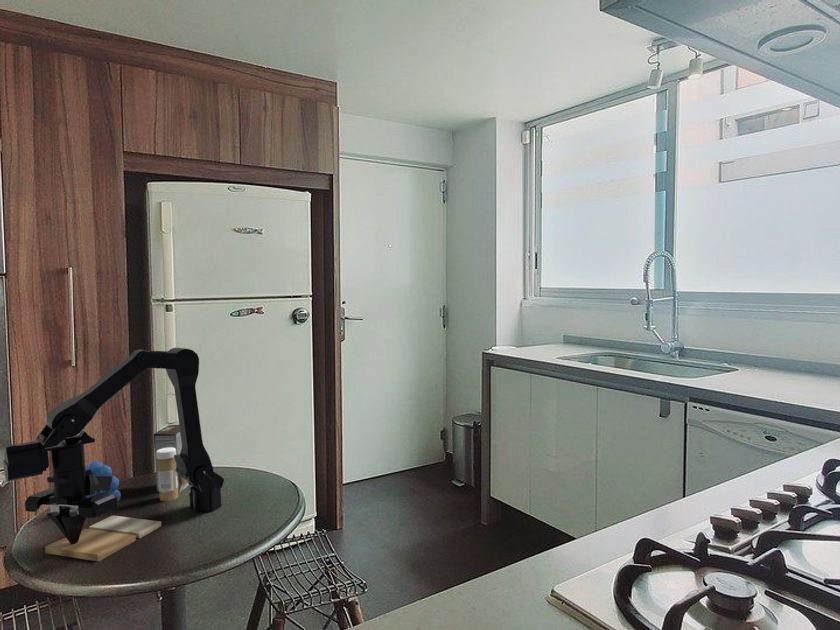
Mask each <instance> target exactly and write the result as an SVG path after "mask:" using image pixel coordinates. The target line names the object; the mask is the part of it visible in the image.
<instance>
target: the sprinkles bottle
mask: <svg viewBox="0 0 840 630" xmlns="http://www.w3.org/2000/svg"><path fill="white" fill-rule="evenodd" d="M174 455H176V449H175V448H173V447H168V448H162V449H159V450H157V451H156V458H157V463H158V483H159V493H158V494H159V501H161V502H170V501H174V500H177V498H179V493H178V480H177V472H176V471H175V470H176V462H175V459H174Z"/></svg>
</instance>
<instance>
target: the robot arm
mask: <svg viewBox="0 0 840 630" xmlns="http://www.w3.org/2000/svg"><path fill="white" fill-rule="evenodd" d="M146 369H164V370H166V375H167V376H168V378H169V380H170V382H171V385H172V387H173V388H174V394H175V401H176V402H175V404H176V409H177V418H178V419H177V420H178V425H179V426H180V434H181V441H182V449H181V452H180V454H177V455H174V459H175V462H176V470H175V471H176V472H178V473H179V475H180V476H181V477H182V478H183V479H185V480H187V482H188V484H189V485H188V486H190V487H189V490H190V492H189V494H188V495H189V509H191V510H193V511H194V513H200V514H202V513H210V512H211V513H213V512H215V511H217V510H218V509H220V508H222V493H221V492H222V490H221V489H222V488H223V485H224V481H225V478H224V477H222V476H221V475H219V474H218V473H217V472H215V471H214V466H213V464H212V460H211V457H210V455H209V453H208V452H207V449H206V447H205V445H204V441H203V435H202V429H201V427H202V426H201V419H200V413H199V404H198V398H197V396H198V395H197V390H196V389H197V388H196V384H197V381H198V376H199V373H200V372H199V371H200V357H199V355H198V353H197V352H195V351H194V350H193V349H191V348H185V347H173V348H170V349H169V350H168V351H164V350H147V349H145V350H144V349H136V350H134V351H132V352H131V354H130V355H129V356H128V357H127V358H125V359H124V360H123V361H122V362H120V363H119V364H118V365H116V366H115V367H114V368H113V369H112V370H110V371H109V372H108V373H107V374H105V375H104V376H103V377H102V378H101V379H99V380H98V381H97V382H95V383H94V384H93V385H92V386H90V387H89V388H88V389H87V390H85V391H83V392H82V393H79V395H76V396H74V397H72V398H69V399H68V400H66V401H64V402H62V403H60V404H58V405H57V406H55V407H53V408H52V409H51V410H50V411H49V412H48V414H47V416H46V424H45V425H44V426H43V428H42V430H41V431H40V432H39V433H38V434H37V437H36V438H35V440H33V441H28V442H23V443H11V444H6V445H5V446H4V460H3V461H2V462H3V463H2V464H3V472H4V478H5V481H6V482H7V483H8V482H12V481H18V480H23V479H27V478H31V477H36V476H40V475H43V473H44V472H46V471H47V469H48V468H49V466H50V463H51V474H52V475H50V476H47V478H46V481H47V483H52V488H47V489H44V490H42V491H39V492H37V493H34V494H31V495H29V496H27V498H26V500H25V502H24V510H25V512H32V513H36V512H38V511H39V509H41V506H43V505H45V506H47V507H49V510H50V512H49V513H47V514H46V517H47V518H49V519H50V520H51V521H53V523H54V524H55V525H56V526H57V528H58V530H59V531H60V532H61V533H62V534H63V536H64V538H65V537H66V538H67V540H68V541H69V542H70V544H75V543H77V542H78V540H79V537H80V534H81V531H82V530H83V527H84V524H85V521H86V519H87V518H90V519H93V518H97V517H99V516H101V515H103V514H105V513H106V514H107V513H108V512H111V511H112V510H114V509H117V508H119V501H118V497H117V496H116V495H114V494H107V493H100V494H97V495H95V496H92V497H90V498H89V497H87V496H88V495H92V494H95V493H96V492H95V490H105V491H110V488H111V483H112V478H113V476H114V475H111V476H101V475H93V472H92V471H91V469H86V466H87V465H86V454H85V452H86V450H85V445H86V444H93V443H95V442H96V439H95V438H94V437H92V436H91V435H89V434H88V433H87V432H86V431H85V430H84V429H85V428H86V427H87V425H88V424H89V423H90V422H91V421H92V419H93V418H95V415H96V414H97V412H98V411H99V409H101V407H102V406H103V405H104V404H105V403H106V402H108V401H109V400H110V399H111V398H113V397H114V396H115V395H116V394H118V393H119V392H120V391H121V390H122V389H124V387H126V386H127V385H128V384H129V383H130V382H132V381H133V380H134V379H135V378H136V377H138V376H139V375H140V374H141V373H143V372H144V371H145V370H146ZM49 452H50V458H49ZM50 461H51V462H50Z"/></svg>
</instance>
